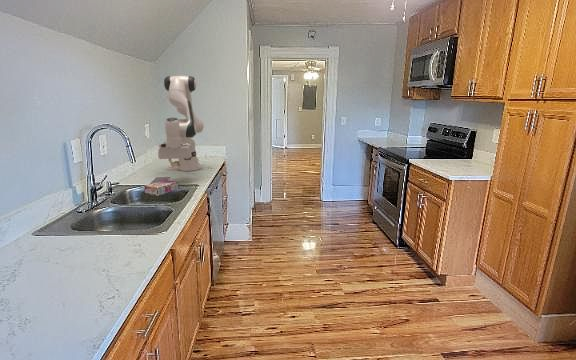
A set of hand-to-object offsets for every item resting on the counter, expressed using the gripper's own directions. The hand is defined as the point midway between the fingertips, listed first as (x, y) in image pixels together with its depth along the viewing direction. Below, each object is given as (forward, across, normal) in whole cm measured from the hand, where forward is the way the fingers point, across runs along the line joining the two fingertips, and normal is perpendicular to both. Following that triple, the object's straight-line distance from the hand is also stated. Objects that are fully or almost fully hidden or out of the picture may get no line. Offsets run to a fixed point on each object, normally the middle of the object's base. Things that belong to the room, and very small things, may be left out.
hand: (175, 165), depth 214 cm
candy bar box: (+10, +1, +9) cm, 13 cm away
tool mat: (+13, +13, -8) cm, 20 cm away
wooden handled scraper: (+1, 0, +3) cm, 3 cm away
